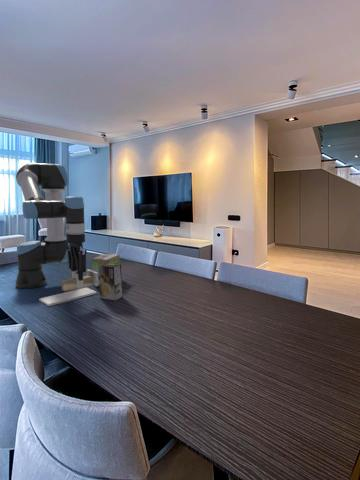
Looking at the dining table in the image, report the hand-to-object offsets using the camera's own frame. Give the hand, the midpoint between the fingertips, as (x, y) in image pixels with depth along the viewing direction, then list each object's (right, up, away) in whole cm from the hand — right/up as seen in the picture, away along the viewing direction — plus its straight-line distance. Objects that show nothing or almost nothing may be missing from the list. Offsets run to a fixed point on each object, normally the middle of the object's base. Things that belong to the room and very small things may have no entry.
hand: (78, 286), depth 132 cm
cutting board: (-9, -7, +13) cm, 17 cm away
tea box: (+3, -4, +39) cm, 39 cm away
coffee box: (+11, -8, +13) cm, 19 cm away
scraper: (0, -1, 0) cm, 0 cm away
